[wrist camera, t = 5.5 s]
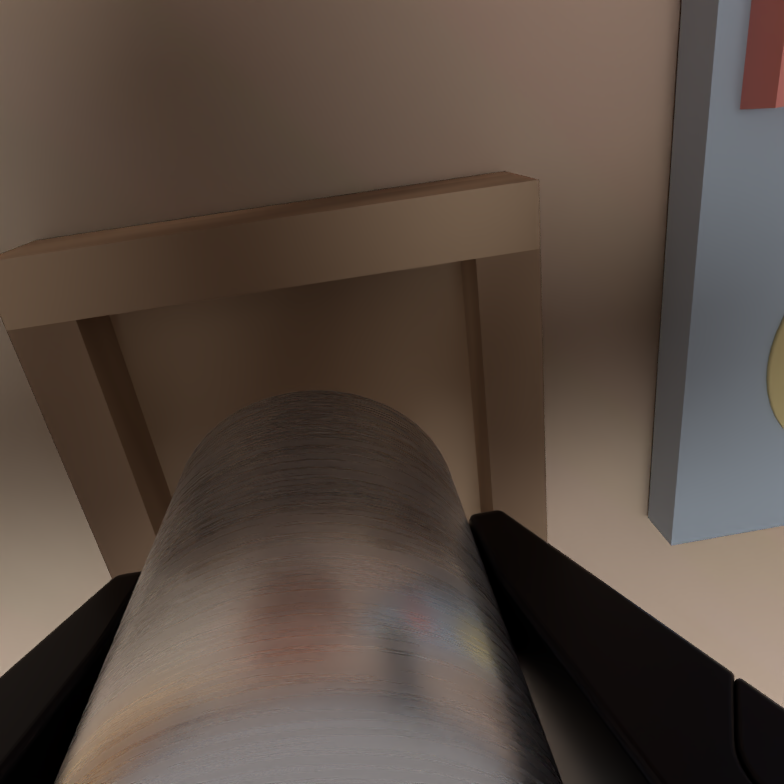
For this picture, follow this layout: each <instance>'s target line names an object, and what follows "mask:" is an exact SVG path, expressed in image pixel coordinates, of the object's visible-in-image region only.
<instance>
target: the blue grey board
mask: <svg viewBox="0 0 784 784" xmlns="http://www.w3.org/2000/svg"><path fill="white" fill-rule="evenodd" d="M648 518H649V520H650V521H651V522H652V523H653V524H654V526H655V527H656V528H657V529H658V530H659V532H660V533H661V534H662V535H663V536H664V538H665V539H666V540H667V541H668V542H669V544H670V545H677V544H682V543H688V542H694V541H699V540H705V539H711V538H716V537H722V536H727V535H733V534H739V533H744V532H750V531H756V530H761V529H767V528H773V527H778V526H784V0H682V6H681V21H680V36H679V52H678V67H677V82H676V97H675V113H674V128H673V143H672V159H671V174H670V189H669V204H668V220H667V235H666V250H665V266H664V281H663V296H662V311H661V327H660V342H659V357H658V373H657V388H656V403H655V419H654V434H653V449H652V464H651V480H650V495H649V510H648Z"/></svg>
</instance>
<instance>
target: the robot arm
mask: <svg viewBox="0 0 784 784" xmlns="http://www.w3.org/2000/svg"><path fill="white" fill-rule="evenodd" d="M469 526H470V529H471V531H472V534H473V537H474V540H475V542H476V545H477V548H478V551H479V553H480V556H481V559H482V562H483V564H484V567H485V570H486V573H487V575H488V578H489V581H490V584H491V587H492V589H493V592H494V595H495V598H496V600H497V603H498V606H499V609H500V611H501V614H502V617H503V620H504V622H505V625H506V628H507V631H508V633H509V636H510V639H511V642H512V644H513V647H514V650H515V653H516V655H517V658H518V661H519V664H520V666H521V669H522V672H523V675H524V677H525V680H526V683H527V686H528V688H529V691H530V694H531V697H532V700H533V702H534V705H535V708H536V711H537V713H538V716H539V719H540V722H541V724H542V727H543V730H544V733H545V735H546V738H547V741H548V744H549V746H550V749H551V752H552V755H553V757H554V760H555V763H556V766H557V768H558V771H559V774H560V777H561V779H562V782H563V784H784V708H783V707H781V706H780V705H778V704H777V703H776V702H774V701H773V700H771V699H770V698H768V697H767V696H766V695H764V694H763V693H761V692H760V691H758V690H757V689H756V688H754V687H753V686H751V685H750V684H748V683H747V682H746V681H744V680H743V679H740V678H739V679H736V680H735V682H734V674H733V673H732V672H731V671H729V670H728V669H727V668H725V667H724V666H722V665H721V664H719V663H718V662H717V661H715V660H714V659H712V658H711V657H710V656H708V655H707V654H705V653H704V652H702V651H701V650H700V649H698V648H697V647H695V646H694V645H692V644H691V643H690V642H688V641H687V640H685V639H684V638H682V637H681V636H680V635H678V634H677V633H675V632H674V631H673V630H671V629H670V628H668V627H667V626H665V625H664V624H663V623H661V622H660V621H658V620H657V619H655V618H654V617H653V616H651V615H650V614H648V613H647V612H645V611H644V610H643V609H641V608H640V607H638V606H637V605H635V604H634V603H633V602H631V601H630V600H628V599H627V598H626V597H624V596H623V595H621V594H620V593H618V592H617V591H616V590H614V589H613V588H611V587H610V586H608V585H607V584H606V583H604V582H603V581H601V580H600V579H598V578H597V577H596V576H594V575H593V574H591V573H590V572H589V571H587V570H586V569H584V568H583V567H581V566H580V565H579V564H577V563H576V562H574V561H573V560H571V559H570V558H569V557H567V556H566V555H564V554H563V553H561V552H560V551H559V550H557V549H556V548H554V547H553V546H551V545H550V544H549V543H547V542H546V541H544V540H543V539H542V538H540V537H539V536H537V535H536V534H534V533H533V532H532V531H530V530H529V529H527V528H526V527H524V526H523V525H522V524H520V523H519V522H517V521H516V520H514V519H513V518H512V517H510V516H509V515H507V514H506V513H504V512H503V511H500V510H494V511H488V512H483V513H477V514H473V515H472V516H471V517H470V519H469ZM141 572H142V571H139V572H133V573H127V574H121V575H118V576H116V577H114V578H113V579H112V580H111V581H109V582H108V583H107V584H106V585H105V586H104V587H103V588H101V589H100V590H99V591H98V592H97V593H96V594H95V595H93V596H92V597H91V598H90V599H89V600H88V601H87V602H86V603H84V604H83V605H82V606H81V607H80V608H79V609H78V610H76V611H75V612H74V613H73V614H72V615H71V616H70V617H68V618H67V619H66V620H65V621H64V622H63V623H62V624H60V625H59V626H58V627H57V628H56V629H55V630H54V631H53V632H51V633H50V634H49V635H48V636H47V637H46V638H45V639H43V640H42V641H41V642H40V643H39V644H38V645H37V646H35V647H34V648H33V649H32V650H31V651H30V652H29V653H28V654H26V655H25V656H24V657H23V658H22V659H21V660H20V661H18V662H17V663H16V664H15V665H14V666H13V667H12V668H10V669H9V670H8V671H7V672H6V673H5V674H4V675H3V676H1V677H0V784H54V783H55V780H56V778H57V775H58V773H59V770H60V768H61V766H62V763H63V761H64V758H65V756H66V753H67V751H68V749H69V746H70V744H71V741H72V739H73V736H74V734H75V732H76V729H77V727H78V724H79V722H80V720H81V717H82V715H83V712H84V710H85V707H86V705H87V703H88V700H89V698H90V695H91V693H92V691H93V688H94V686H95V683H96V681H97V678H98V676H99V674H100V671H101V669H102V666H103V664H104V661H105V659H106V657H107V654H108V652H109V649H110V647H111V644H112V642H113V640H114V637H115V635H116V632H117V630H118V628H119V625H120V623H121V620H122V618H123V615H124V613H125V611H126V608H127V606H128V603H129V601H130V598H131V596H132V594H133V591H134V589H135V586H136V584H137V582H138V579H139V577H140V574H141Z"/></svg>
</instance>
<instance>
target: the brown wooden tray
mask: <svg viewBox="0 0 784 784" xmlns="http://www.w3.org/2000/svg"><path fill="white" fill-rule="evenodd" d="M0 316H1V319H2V321H3V323H4V326H5V328H6V330H7V333H8V335H9V337H10V340H11V342H12V344H13V347H14V349H15V351H16V354H17V356H18V359H19V361H20V363H21V366H22V368H23V370H24V373H25V375H26V377H27V380H28V382H29V384H30V387H31V389H32V391H33V394H34V396H35V399H36V401H37V403H38V406H39V408H40V410H41V413H42V415H43V417H44V420H45V422H46V424H47V427H48V429H49V432H50V434H51V436H52V439H53V441H54V443H55V446H56V448H57V450H58V453H59V455H60V457H61V460H62V462H63V464H64V467H65V469H66V472H67V474H68V476H69V479H70V481H71V483H72V486H73V488H74V490H75V493H76V495H77V497H78V500H79V502H80V504H81V507H82V509H83V512H84V514H85V516H86V519H87V521H88V523H89V526H90V528H91V530H92V533H93V535H94V537H95V540H96V542H97V544H98V547H99V549H100V552H101V554H102V556H103V559H104V561H105V563H106V566H107V568H108V570H109V573H110V575H111V577H112V579H113V578H114V577H116V576H118V575H121V574H127V573H133V572H139V571H142V569H143V567H144V565H145V562H146V560H147V557H148V555H149V552H150V550H151V548H152V545H153V543H154V540H155V538H156V536H157V533H158V531H159V528H160V526H161V523H162V521H163V519H164V516H165V514H166V511H167V509H168V506H169V504H170V502H171V499H172V497H173V494H174V492H175V490H176V487H177V485H178V482H179V480H180V477H181V475H182V473H183V470H184V468H185V465H186V463H187V461H188V460H189V458H190V456H191V455H192V453H193V451H194V450H195V448H196V447H197V446H198V445H199V443H200V442H201V441H202V440H203V439H204V437H205V436H206V435H207V434H208V433H209V432H210V431H212V430H213V429H214V428H215V427H216V426H217V425H218V424H219V423H220V422H222V421H223V420H225V419H226V418H228V417H229V416H231V415H232V414H234V413H235V412H237V411H239V410H241V409H243V408H245V407H247V406H249V405H251V404H253V403H255V402H258V401H261V400H264V399H267V398H270V397H273V396H277V395H282V394H286V393H291V392H299V391H309V390H324V391H338V392H345V393H352V394H356V395H359V396H363V397H367V398H371V399H373V400H375V401H378V402H380V403H383V404H385V405H388V406H390V407H391V408H393V409H395V410H397V411H398V412H400V413H402V414H404V415H405V416H406V417H408V418H409V419H410V420H412V421H413V422H414V423H416V424H417V425H418V426H419V427H420V428H421V429H422V430H423V431H424V432H425V433H426V434H427V435H428V436H429V437H430V438H431V439H432V441H433V442H434V443H435V445H436V446H437V447H438V449H439V450H440V452H441V454H442V456H443V457H444V459H445V461H446V463H447V465H448V468H449V471H450V473H451V476H452V479H453V482H454V485H455V487H456V490H457V493H458V496H459V498H460V501H461V504H462V507H463V509H464V512H465V515H466V518H467V520H468V523H469V519H470V517H471V516H472V515H473V514H477V513H483V512H488V511H494V510H500V511H503V512H504V513H506V514H507V515H509V516H510V517H512V518H513V519H514V520H516V521H517V522H519V523H520V524H522V525H523V526H524V527H526V528H527V529H529V530H530V531H532V532H533V533H534V534H536V535H537V536H539V537H540V538H542V539H543V540H544V541H546V542H547V512H546V468H545V425H544V382H543V338H542V295H541V252H540V208H539V180H538V179H534V178H530V177H526V176H522V175H518V174H513V173H509V172H505V171H503V172H496V173H489V174H483V175H476V176H469V177H462V178H456V179H449V180H442V181H435V182H428V183H422V184H415V185H408V186H401V187H395V188H388V189H381V190H374V191H367V192H361V193H354V194H347V195H340V196H333V197H327V198H320V199H313V200H306V201H300V202H293V203H286V204H279V205H272V206H266V207H259V208H252V209H245V210H239V211H232V212H225V213H218V214H211V215H205V216H198V217H191V218H184V219H178V220H171V221H164V222H157V223H150V224H144V225H137V226H130V227H123V228H117V229H110V230H103V231H96V232H89V233H83V234H76V235H69V236H62V237H55V238H49V239H42V240H35V241H33V242H30V243H28V244H25V245H22V246H20V247H17V248H15V249H12V250H10V251H7V252H5V253H2V254H0Z"/></svg>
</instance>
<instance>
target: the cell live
mask: <svg viewBox="0 0 784 784" xmlns="http://www.w3.org/2000/svg"><path fill="white" fill-rule="evenodd" d="M54 784H563V782H562V779H561V777H560V774H559V771H558V768H557V766H556V763H555V760H554V757H553V755H552V752H551V749H550V746H549V744H548V741H547V738H546V735H545V733H544V730H543V727H542V724H541V722H540V719H539V716H538V713H537V711H536V708H535V705H534V702H533V700H532V697H531V694H530V691H529V688H528V686H527V683H526V680H525V677H524V675H523V672H522V669H521V666H520V664H519V661H518V658H517V655H516V653H515V650H514V647H513V644H512V642H511V639H510V636H509V633H508V631H507V628H506V625H505V622H504V620H503V617H502V614H501V611H500V609H499V606H498V603H497V600H496V598H495V595H494V592H493V589H492V587H491V584H490V581H489V578H488V575H487V573H486V570H485V567H484V564H483V562H482V559H481V556H480V553H479V551H478V548H477V545H476V542H475V540H474V537H473V534H472V531H471V529H470V526H469V523H468V520H467V518H466V515H465V512H464V509H463V507H462V504H461V501H460V498H459V496H458V493H457V490H456V487H455V485H454V482H453V479H452V476H451V473H450V471H449V468H448V465H447V463H446V461H445V459H444V457H443V456H442V454H441V452H440V450H439V449H438V447H437V446H436V445H435V443H434V442H433V441H432V439H431V438H430V437H429V436H428V435H427V434H426V433H425V432H424V431H423V430H422V429H421V428H420V427H419V426H418V425H417V424H416V423H414V422H413V421H412V420H410V419H409V418H408V417H406V416H405V415H404V414H402V413H400V412H398V411H397V410H395V409H393V408H391V407H390V406H388V405H385V404H383V403H380V402H378V401H375V400H373V399H371V398H367V397H363V396H359V395H356V394H352V393H345V392H338V391H324V390H309V391H299V392H291V393H286V394H282V395H277V396H273V397H270V398H267V399H264V400H261V401H258V402H255V403H253V404H251V405H249V406H247V407H245V408H243V409H241V410H239V411H237V412H235V413H234V414H232V415H231V416H229V417H228V418H226V419H225V420H223V421H222V422H220V423H219V424H218V425H217V426H216V427H215V428H214V429H213V430H212V431H210V432H209V433H208V434H207V435H206V436H205V437H204V439H203V440H202V441H201V442H200V443H199V445H198V446H197V447H196V448H195V450H194V451H193V453H192V455H191V456H190V458H189V460H188V461H187V463H186V465H185V468H184V470H183V473H182V475H181V477H180V480H179V482H178V485H177V487H176V490H175V492H174V494H173V497H172V499H171V502H170V504H169V506H168V509H167V511H166V514H165V516H164V519H163V521H162V523H161V526H160V528H159V531H158V533H157V536H156V538H155V540H154V543H153V545H152V548H151V550H150V552H149V555H148V557H147V560H146V562H145V565H144V567H143V569H142V572H141V574H140V577H139V579H138V582H137V584H136V586H135V589H134V591H133V594H132V596H131V598H130V601H129V603H128V606H127V608H126V611H125V613H124V615H123V618H122V620H121V623H120V625H119V628H118V630H117V632H116V635H115V637H114V640H113V642H112V644H111V647H110V649H109V652H108V654H107V657H106V659H105V661H104V664H103V666H102V669H101V671H100V674H99V676H98V678H97V681H96V683H95V686H94V688H93V691H92V693H91V695H90V698H89V700H88V703H87V705H86V707H85V710H84V712H83V715H82V717H81V720H80V722H79V724H78V727H77V729H76V732H75V734H74V736H73V739H72V741H71V744H70V746H69V749H68V751H67V753H66V756H65V758H64V761H63V763H62V766H61V768H60V770H59V773H58V775H57V778H56V780H55V783H54Z"/></svg>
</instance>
